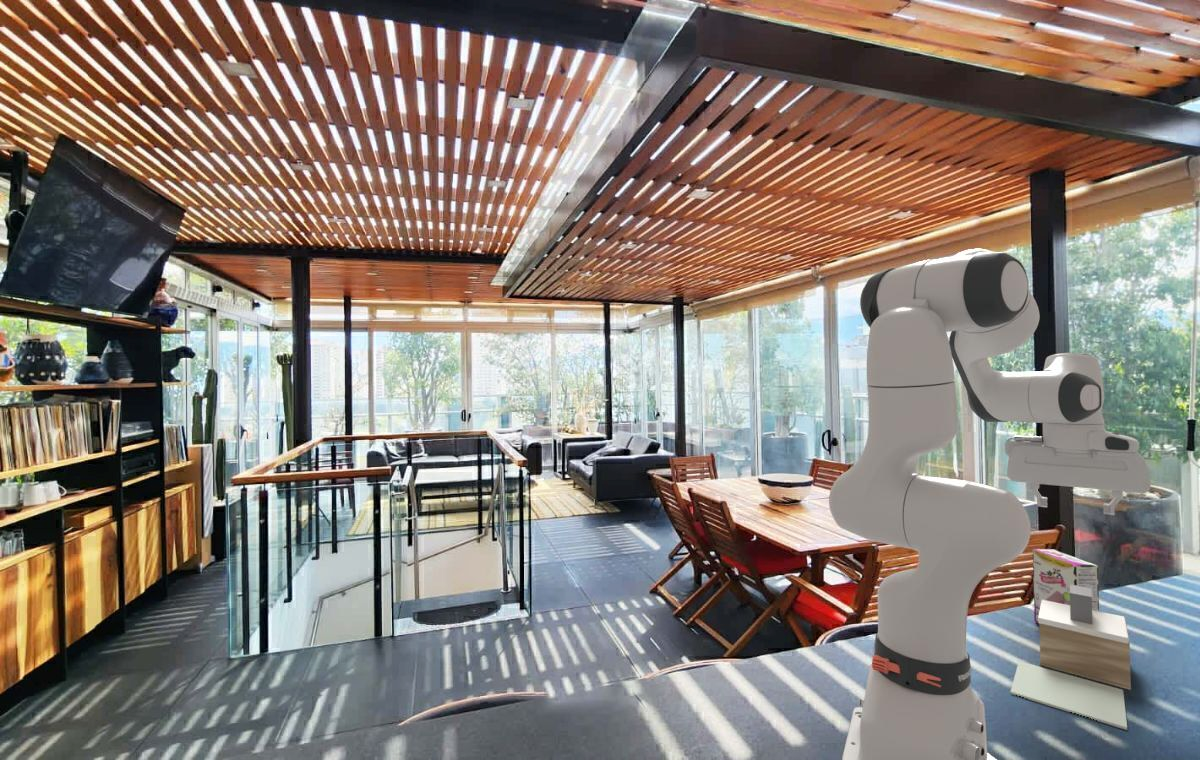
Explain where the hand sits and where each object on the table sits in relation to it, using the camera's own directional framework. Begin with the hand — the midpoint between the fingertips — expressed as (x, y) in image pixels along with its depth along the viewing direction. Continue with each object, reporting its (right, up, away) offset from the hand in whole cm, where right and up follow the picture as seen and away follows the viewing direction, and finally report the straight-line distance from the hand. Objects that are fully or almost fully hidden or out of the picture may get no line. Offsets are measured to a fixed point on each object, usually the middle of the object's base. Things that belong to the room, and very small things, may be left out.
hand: (1074, 510), depth 100 cm
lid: (0, -23, -1) cm, 23 cm away
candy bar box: (+9, -30, +12) cm, 33 cm away
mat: (-11, -29, -11) cm, 33 cm away
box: (+1, -29, -1) cm, 29 cm away
